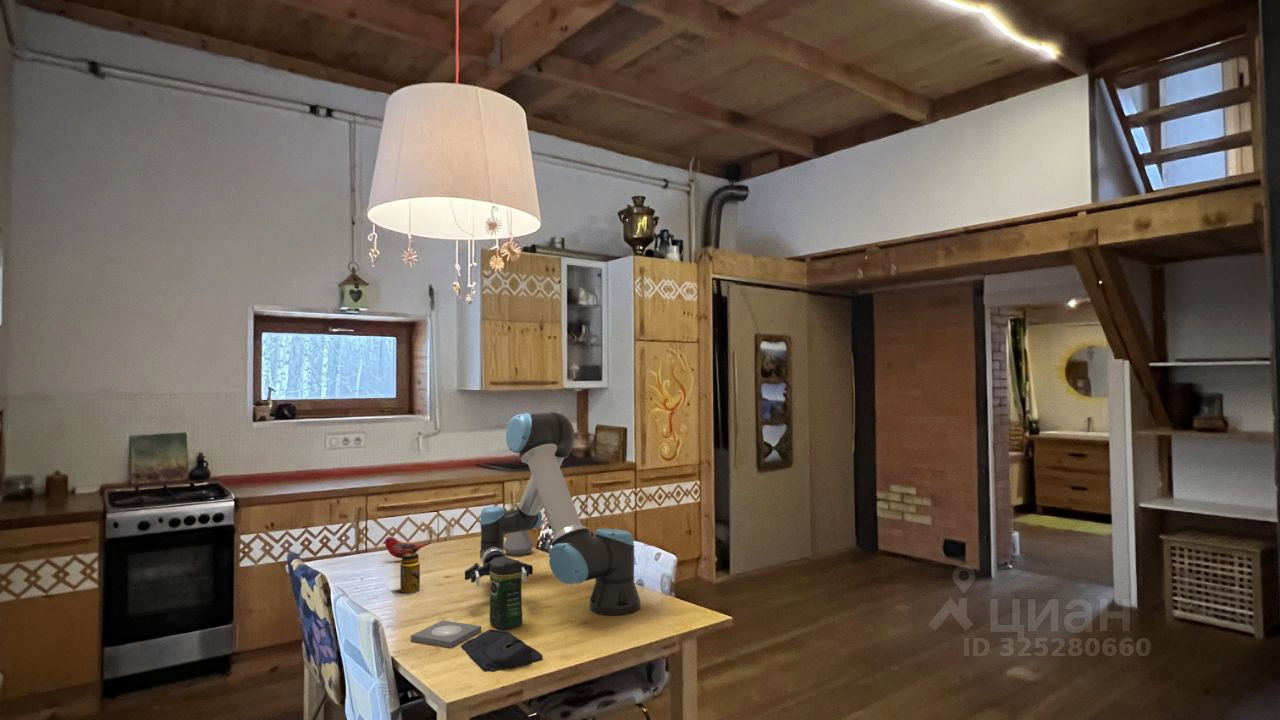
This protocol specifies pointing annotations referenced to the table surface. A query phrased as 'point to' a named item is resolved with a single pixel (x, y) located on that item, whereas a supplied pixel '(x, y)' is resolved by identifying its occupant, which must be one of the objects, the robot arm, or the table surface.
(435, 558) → the table surface
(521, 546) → the coffee pot
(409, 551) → the decorative bird figurine
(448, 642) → the plate
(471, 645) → the folded black cloth
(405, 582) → the condiment
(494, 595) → the coffee jar
